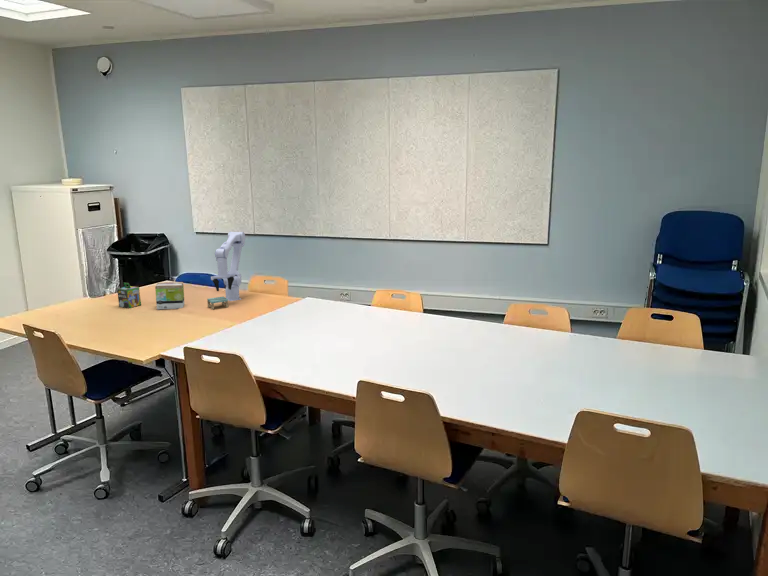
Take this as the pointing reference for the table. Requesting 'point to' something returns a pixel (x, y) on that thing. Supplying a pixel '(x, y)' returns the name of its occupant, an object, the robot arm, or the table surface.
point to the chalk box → (128, 296)
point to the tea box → (169, 295)
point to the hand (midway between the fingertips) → (223, 290)
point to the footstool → (217, 301)
